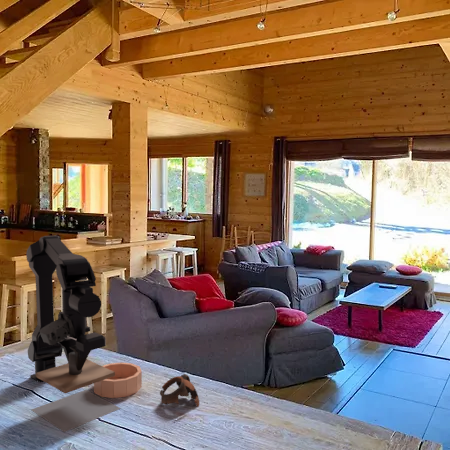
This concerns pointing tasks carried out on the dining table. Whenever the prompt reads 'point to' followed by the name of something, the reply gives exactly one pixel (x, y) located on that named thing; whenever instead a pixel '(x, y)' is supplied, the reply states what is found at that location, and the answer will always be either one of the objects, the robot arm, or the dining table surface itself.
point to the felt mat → (75, 410)
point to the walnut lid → (74, 375)
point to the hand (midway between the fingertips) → (75, 368)
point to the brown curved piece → (179, 390)
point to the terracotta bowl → (120, 381)
